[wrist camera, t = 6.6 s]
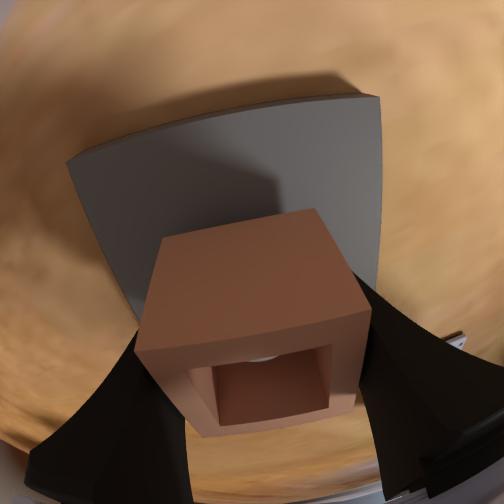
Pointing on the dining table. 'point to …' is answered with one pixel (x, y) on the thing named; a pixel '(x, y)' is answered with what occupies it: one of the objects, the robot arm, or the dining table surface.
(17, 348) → the dining table surface
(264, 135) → the post board
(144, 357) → the collar
